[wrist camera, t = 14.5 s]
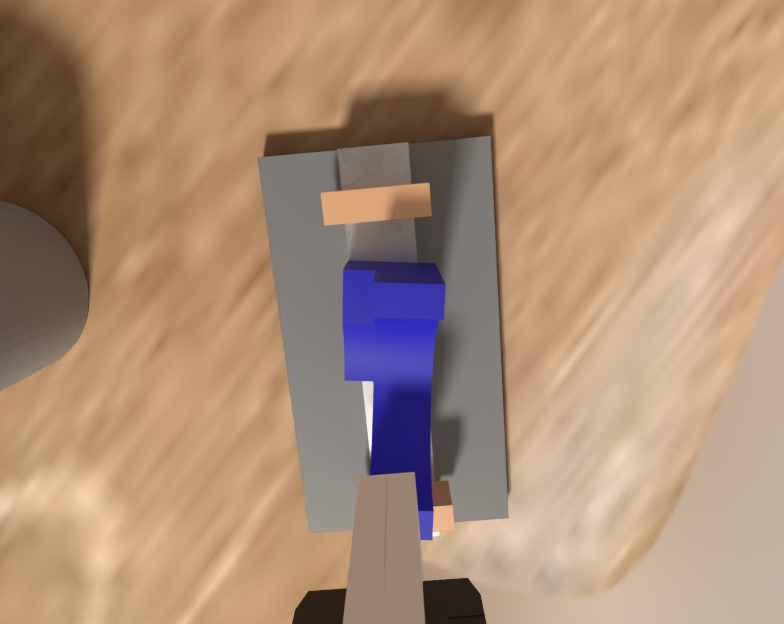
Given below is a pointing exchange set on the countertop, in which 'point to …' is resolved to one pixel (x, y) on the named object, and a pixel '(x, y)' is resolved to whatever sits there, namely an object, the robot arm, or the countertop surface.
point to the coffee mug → (36, 294)
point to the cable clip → (396, 363)
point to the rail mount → (325, 313)
